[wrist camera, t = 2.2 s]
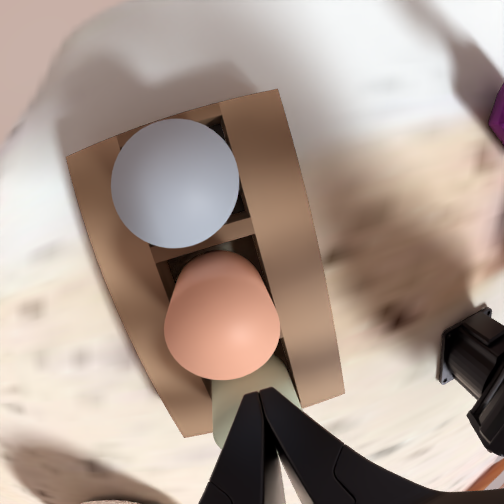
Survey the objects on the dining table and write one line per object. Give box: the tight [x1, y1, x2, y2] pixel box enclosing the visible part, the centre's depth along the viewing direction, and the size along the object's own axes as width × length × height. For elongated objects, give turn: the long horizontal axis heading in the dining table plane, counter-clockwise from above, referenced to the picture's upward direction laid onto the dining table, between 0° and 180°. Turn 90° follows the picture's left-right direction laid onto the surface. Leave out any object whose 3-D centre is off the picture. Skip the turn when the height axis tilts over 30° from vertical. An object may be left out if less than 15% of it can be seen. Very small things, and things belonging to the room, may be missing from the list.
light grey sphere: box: [111, 119, 239, 248], centre depth 14 cm, size 5×5×5 cm
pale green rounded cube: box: [212, 354, 303, 453], centre depth 17 cm, size 5×5×5 cm
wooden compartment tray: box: [66, 89, 345, 438], centre depth 19 cm, size 20×12×3 cm, turn 15°
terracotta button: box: [164, 250, 280, 380], centre depth 16 cm, size 5×5×5 cm
